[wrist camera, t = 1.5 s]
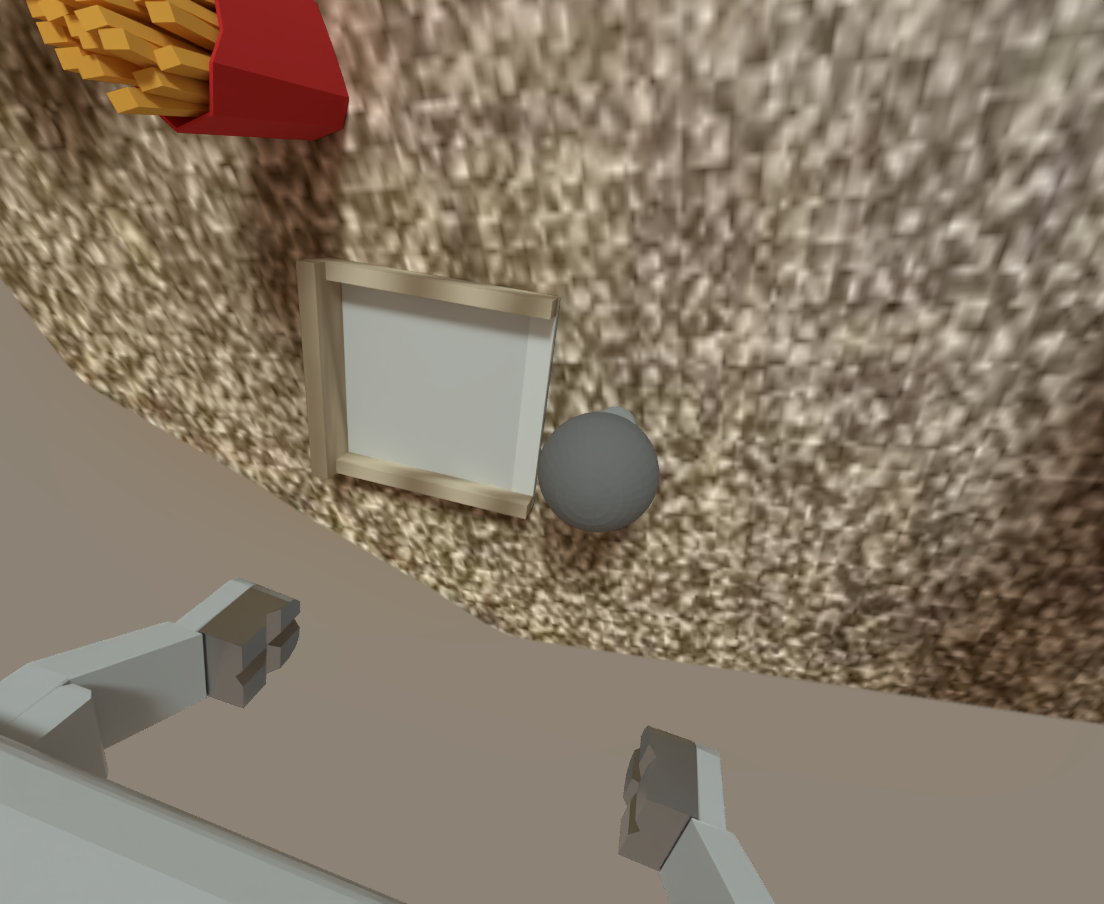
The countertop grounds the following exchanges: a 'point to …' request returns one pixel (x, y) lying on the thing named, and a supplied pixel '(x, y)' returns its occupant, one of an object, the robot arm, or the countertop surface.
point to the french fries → (206, 62)
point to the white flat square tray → (434, 383)
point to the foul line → (534, 402)
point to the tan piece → (329, 383)
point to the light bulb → (599, 470)
